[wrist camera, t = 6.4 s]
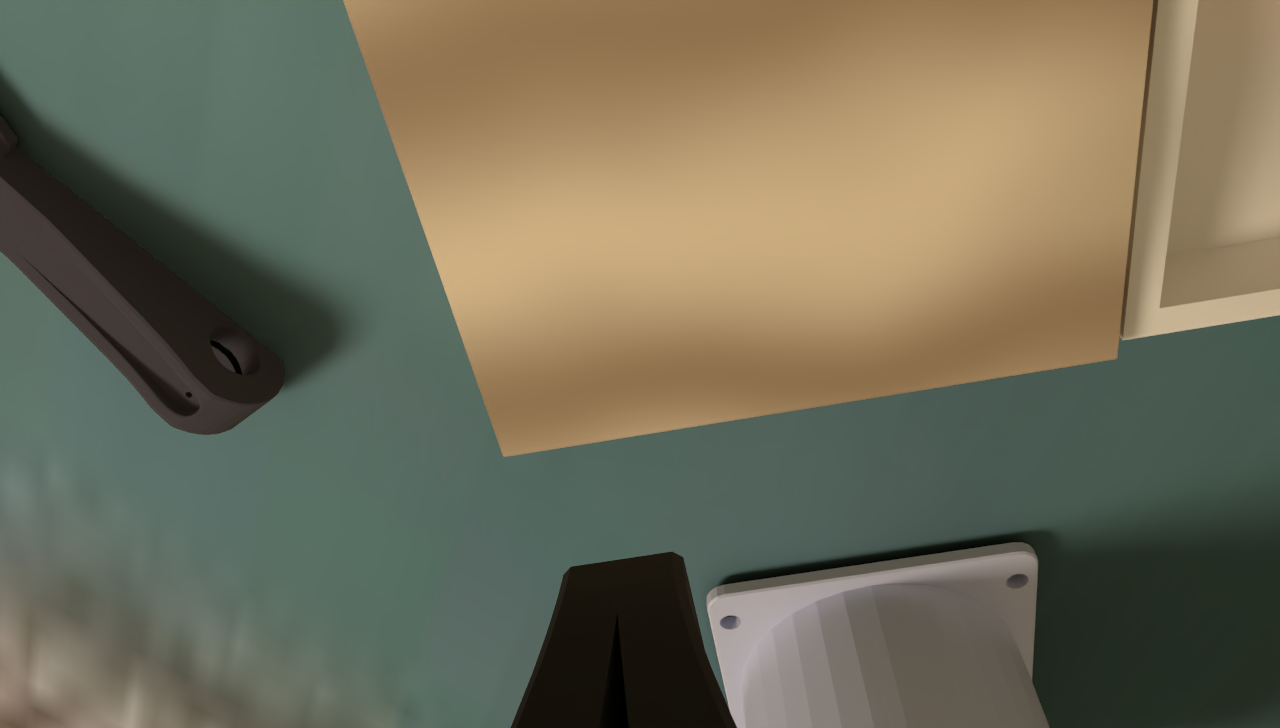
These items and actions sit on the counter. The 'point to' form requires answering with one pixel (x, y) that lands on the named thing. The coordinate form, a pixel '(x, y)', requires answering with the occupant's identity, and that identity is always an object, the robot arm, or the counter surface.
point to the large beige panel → (761, 196)
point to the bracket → (130, 303)
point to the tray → (1206, 170)
